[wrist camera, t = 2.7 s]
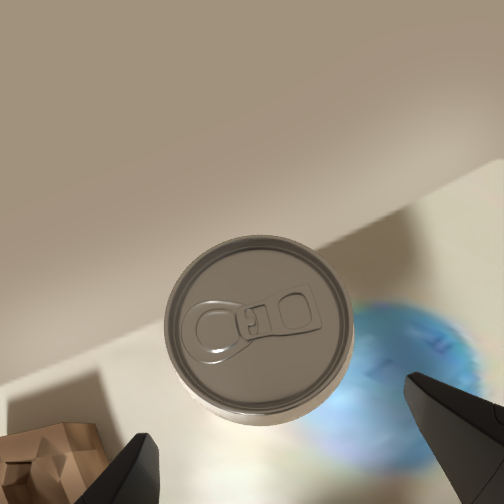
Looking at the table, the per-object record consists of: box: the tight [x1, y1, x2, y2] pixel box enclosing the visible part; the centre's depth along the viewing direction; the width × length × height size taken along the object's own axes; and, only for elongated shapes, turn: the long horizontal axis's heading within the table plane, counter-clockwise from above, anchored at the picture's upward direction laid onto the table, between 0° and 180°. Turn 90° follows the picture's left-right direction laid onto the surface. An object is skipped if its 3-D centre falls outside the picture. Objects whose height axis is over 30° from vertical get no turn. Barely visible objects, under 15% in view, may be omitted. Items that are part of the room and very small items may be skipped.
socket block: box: [0, 422, 109, 504], centre depth 13 cm, size 11×11×4 cm
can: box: [164, 235, 354, 426], centre depth 14 cm, size 6×6×12 cm
